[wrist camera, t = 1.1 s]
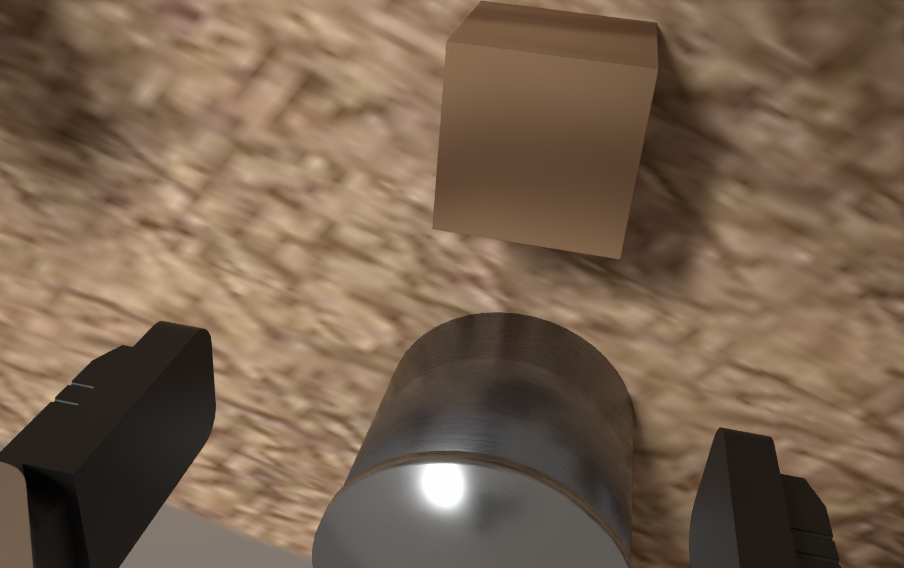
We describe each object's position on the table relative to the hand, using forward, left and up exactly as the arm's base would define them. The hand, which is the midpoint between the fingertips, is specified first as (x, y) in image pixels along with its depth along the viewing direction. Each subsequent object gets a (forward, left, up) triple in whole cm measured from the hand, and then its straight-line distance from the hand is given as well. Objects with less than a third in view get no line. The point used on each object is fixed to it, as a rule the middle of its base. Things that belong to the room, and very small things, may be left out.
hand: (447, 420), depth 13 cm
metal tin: (+10, +9, -17) cm, 22 cm away
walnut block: (0, 0, -17) cm, 17 cm away
